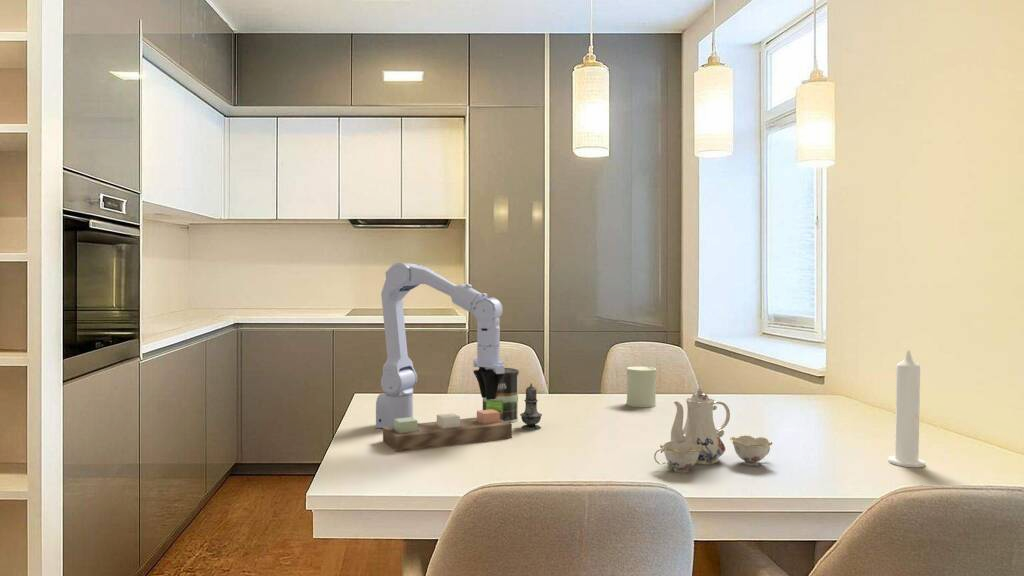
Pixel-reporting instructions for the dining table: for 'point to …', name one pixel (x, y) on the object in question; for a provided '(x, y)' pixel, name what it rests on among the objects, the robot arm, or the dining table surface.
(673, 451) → the chinaware
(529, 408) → the salt shaker
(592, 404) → the dining table surface
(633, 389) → the can
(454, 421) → the offwhite key
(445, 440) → the brown long flat block
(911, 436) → the candle
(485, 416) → the terracotta key
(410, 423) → the sage key
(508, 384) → the coffee can
